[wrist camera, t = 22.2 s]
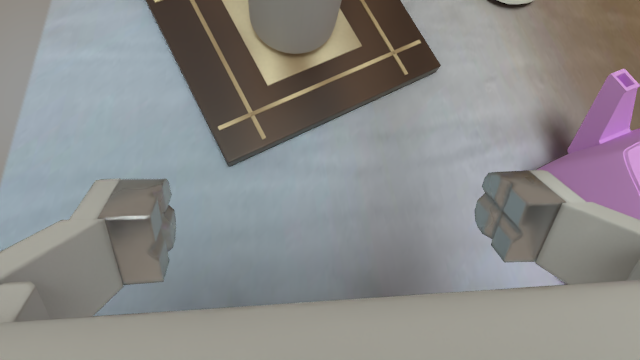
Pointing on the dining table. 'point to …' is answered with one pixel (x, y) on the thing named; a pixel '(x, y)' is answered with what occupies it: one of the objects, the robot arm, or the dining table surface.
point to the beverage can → (294, 23)
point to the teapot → (606, 150)
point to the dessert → (515, 1)
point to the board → (287, 68)
